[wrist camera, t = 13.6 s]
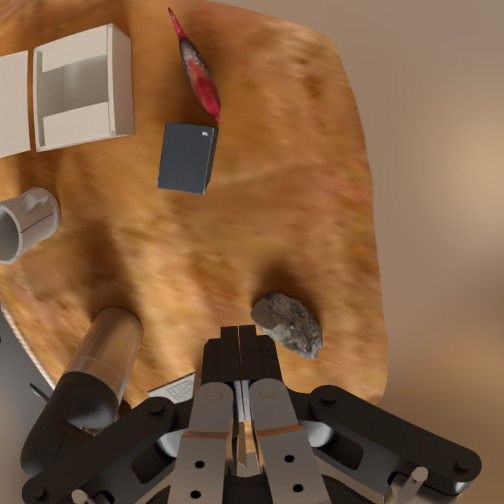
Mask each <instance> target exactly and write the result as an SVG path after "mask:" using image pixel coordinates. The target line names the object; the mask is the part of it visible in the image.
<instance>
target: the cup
mask: <svg viewBox="0 0 504 504" xmlns="http://www.w3.org/2000/svg"><path fill="white" fill-rule="evenodd" d="M59 221H60V210H59V206H58V203H57V201H56V199H55V197H54V196H53V195H52V194H51V193H50V192H49V191H48V190H46V189H44V188H42V187H35V188H32V189H29V190H27V191H25V192H24V193H23V194H22V195H20V196H18V197H15V198H11V199H8V200H4V201H1V202H0V263H1V264H5V265H9V264H12V263H14V262H15V261H16V260H17V259H18V258H20V257H21V256H22V255H23V254H24V253H25V252H26V251H27V250H28V249H29V248H31V247H32V246H33V245H34V244H36V243H37V242H38V241H40V240H44V239H47V238H48V237H50V236H51V235H52V234H53V233H55V231H56V229H57V228H58V226H59Z"/></svg>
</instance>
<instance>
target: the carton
mask: <svg viewBox="0 0 504 504" xmlns="http://www.w3.org/2000/svg"><path fill="white" fill-rule="evenodd" d="M33 108H34V127H35V140H36V151H37V152H41V151H47V150H53V149H59V148H65V147H70V146H74V145H79V144H84V143H89V142H94V141H99V140H104V139H110V138H116V137H121V136H128V135H134V134H135V126H134V112H133V93H132V64H131V39H130V38H129V37H128V36H127V35H126V34H125V33H123V32H122V31H121V30H120V29H119V28H118V27H117V26H115V25H114V24H113V23H111V24H107V25H103V26H99V27H96V28H92V29H89V30H85V31H82V32H79V33H75V34H72V35H69V36H66V37H63V38H60V39H57V40H54V41H52V42H49V43H46V44H44V45H41V46H38V47H36V48H34V57H33Z"/></svg>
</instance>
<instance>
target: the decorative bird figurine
mask: <svg viewBox="0 0 504 504" xmlns="http://www.w3.org/2000/svg"><path fill="white" fill-rule="evenodd" d="M168 10H169V14H170V16H171V19H172V22H173V24H174V27H175V30H176V32H177V35H178V39H179V49H180V54H181V58H182V62H183V66H184V69H185V72H186V75H187V77H188V80H189V82H190V84H191V87H192V89H193V91H194V93H195V95H196V97H197V99H198V100H199V102H200V103H201V105H202V107H203V108H204V110H205V111H206V112H207V113H208V114H210V115H212V116H213V117H214V118H215V119H216V120H217V121H218V122H219V112H220V100H219V95H218V91H217V88H216V85H215V82H214V79H213V77H212V75H211V72H210V70H209V68H208V66H207V64H206V62H205V61H204V59H203V57H202V56H201V54H200V53H199V51H198V50H197V48H196V47H195V45H194V44H193V43H192V41H191V40H190V39H189V38H188V37H187V36H186V35H185V33H184V32H183V30H182V28H181V26H180V24H179V23H178V21H177V19H176V17H175V15H174V13H173V12H172V10H171V9H170V8H169V7H168Z"/></svg>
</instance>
